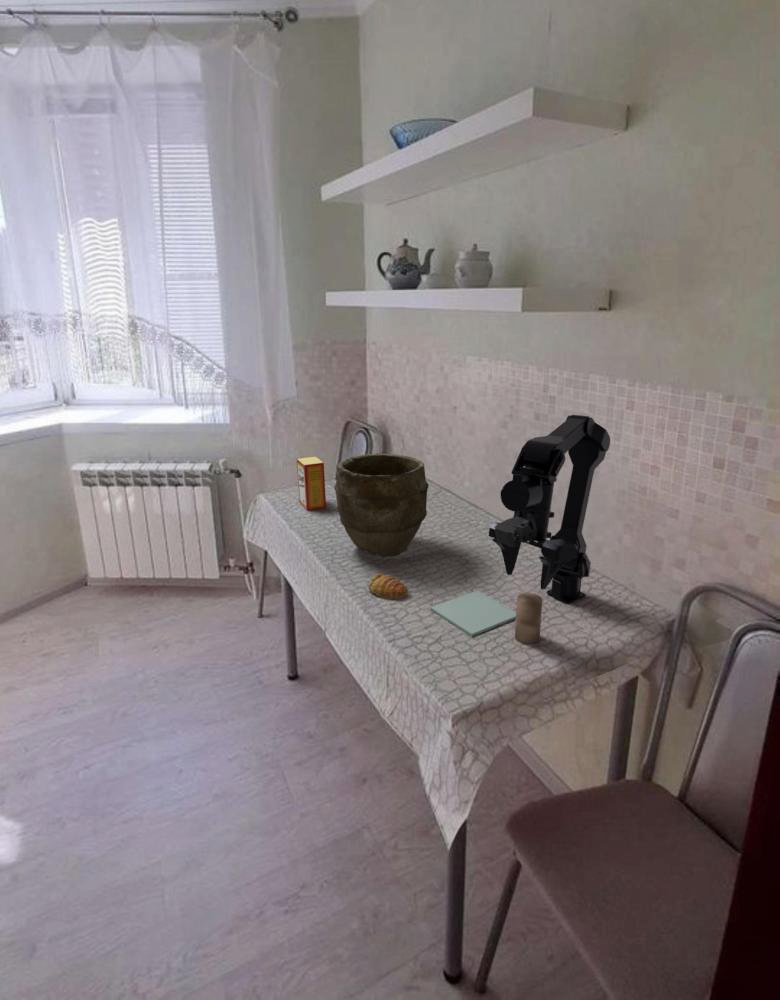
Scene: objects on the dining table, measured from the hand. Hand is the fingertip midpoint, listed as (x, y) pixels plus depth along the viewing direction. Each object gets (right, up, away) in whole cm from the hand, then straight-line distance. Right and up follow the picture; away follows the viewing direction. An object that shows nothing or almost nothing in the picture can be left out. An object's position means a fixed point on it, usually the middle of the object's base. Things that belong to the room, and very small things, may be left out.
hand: (525, 581), depth 123 cm
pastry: (-28, -6, +25) cm, 38 cm away
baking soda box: (-53, +14, +86) cm, 102 cm away
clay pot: (-29, +3, +50) cm, 58 cm away
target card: (-8, -9, +14) cm, 18 cm away
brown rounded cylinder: (+1, -12, +4) cm, 13 cm away
